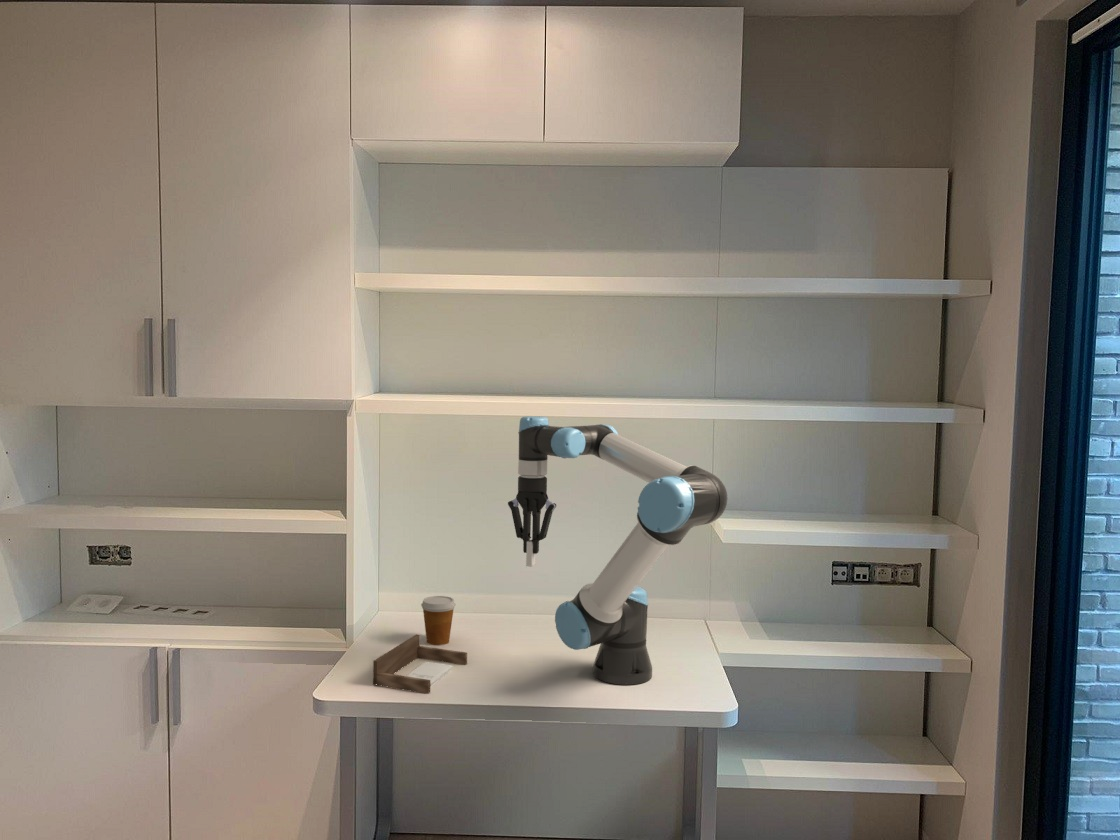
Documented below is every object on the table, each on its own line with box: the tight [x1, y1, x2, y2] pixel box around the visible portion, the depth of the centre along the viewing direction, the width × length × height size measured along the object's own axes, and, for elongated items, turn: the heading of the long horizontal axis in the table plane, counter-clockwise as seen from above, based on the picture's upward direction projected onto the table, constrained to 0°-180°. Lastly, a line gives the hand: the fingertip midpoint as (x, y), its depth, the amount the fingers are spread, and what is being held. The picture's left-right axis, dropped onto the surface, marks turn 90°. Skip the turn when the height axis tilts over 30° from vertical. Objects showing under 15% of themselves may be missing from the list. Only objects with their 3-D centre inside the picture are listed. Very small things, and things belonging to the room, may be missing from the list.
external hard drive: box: [405, 661, 453, 687], centre depth 218 cm, size 2×8×12 cm
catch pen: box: [372, 634, 468, 694], centre depth 219 cm, size 15×22×6 cm
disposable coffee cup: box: [420, 595, 456, 646], centre depth 244 cm, size 10×10×12 cm
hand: (530, 565), depth 226 cm, fingers closed
